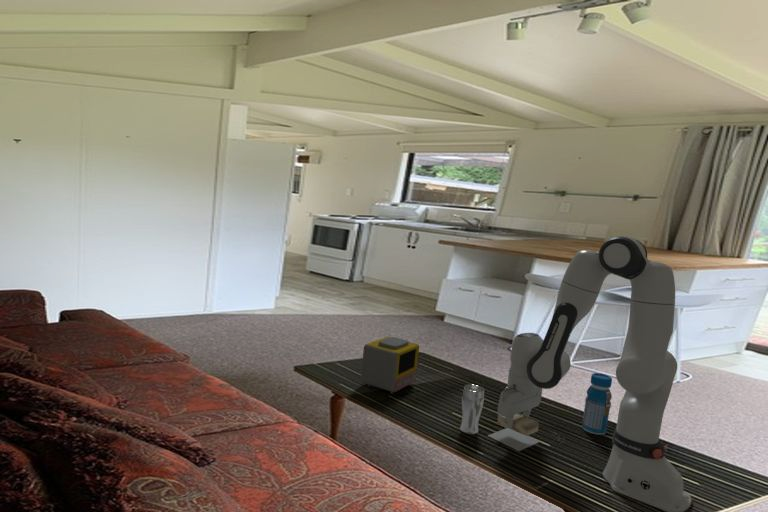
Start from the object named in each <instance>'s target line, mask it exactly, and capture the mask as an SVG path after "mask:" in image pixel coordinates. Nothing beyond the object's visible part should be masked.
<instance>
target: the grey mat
mask: <svg viewBox="0 0 768 512" xmlns="http://www.w3.org/2000/svg"><path fill="white" fill-rule="evenodd" d="M487 437H489V438H492V439H494V440H495V441H498V442H500V443H501V444H504V445H506V446H507V447H509V448H512V449H514V450H516V451H518V452H521V451H522V450H525V449H528V448H529V447H532V446H534V445H536V444H538V443H540V441H539V440H536V439H535V438H532V437H530V436H529V435H528V436H526V435H523V434H521V433H519V432H516V431H514V430H511V429H509V428H507V427H505V428H504V429H501V430H498V431H495V432H493V433H491V434H488V435H487Z"/></svg>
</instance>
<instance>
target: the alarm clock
mask: <svg viewBox="0 0 768 512" xmlns="http://www.w3.org/2000/svg"><path fill="white" fill-rule="evenodd" d="M419 352H420V345H419V344H418V343H414V342H411V341H409V340H407V339H403V338H399V337H394V336H386V337H384V338H380V339H376V340H374V341H372V342H368V343H365V344H364V346H363V352H362V360H361V361H362V363H361V371H360V382H361V383H363V384H367V386H368V387H371V386H373V387H374V388H375V387H376V388H378V389H381V390H385V391H388V392H390V394H391V395H392V394H394V393H396V392H398V391H400V390H401V389H404V388H405V387H407V386H409V385H410V384H413V383H414V382H416V378H417V372H418V371H417V369H418V362H419Z"/></svg>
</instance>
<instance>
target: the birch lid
mask: <svg viewBox="0 0 768 512" xmlns="http://www.w3.org/2000/svg"><path fill="white" fill-rule="evenodd" d="M522 415H523V414H520V413H518V414H515V415H514V418H513V421H514V422H515V424H514V427H512V428H510V427H508V426H507V418H506V417H504V416H501V415H499V414H497V424H498V425H500V426H503V427H504V428H509V429H511V430H514V431H516V432H519V433H521V434H523V435H526V436H528V437H529V436H530V435H532V434H535V433H537V432H538V431H539V426H540V425H539V424H540V422H539V421H537V420H536V419H532V418H530V417H528V418H527V417H525V416H522Z"/></svg>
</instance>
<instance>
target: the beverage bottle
mask: <svg viewBox="0 0 768 512" xmlns="http://www.w3.org/2000/svg"><path fill="white" fill-rule="evenodd" d="M612 381H613V379H612V377H611V376H609V375H608V374H604V373H598V372H593V373H592V374H591V377H590V384H591V385H589V386H588V388H587V389H586V394H587V395H586V397H585V398H584V402H585V403H584V410H583V417H582V423H581V428H582V429H583V430H584V431H585V432H588V433H589V434H594V435H597V436H602V435H605V434H606V433H607V428H608V421H609V415H610V411H611V410H610V409H611V408H612V407H611V406H612V402H611V400H612V397H613V396H612V393H611V390H610V388H611V387H612V383H613V382H612Z"/></svg>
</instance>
